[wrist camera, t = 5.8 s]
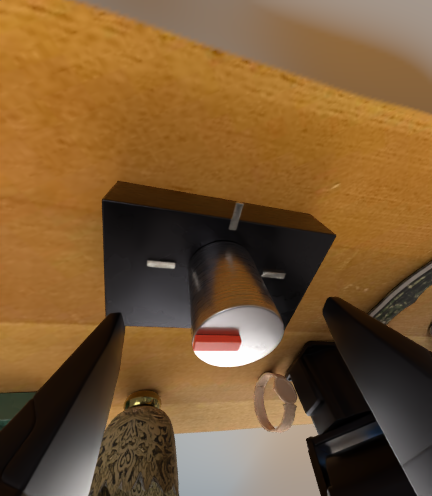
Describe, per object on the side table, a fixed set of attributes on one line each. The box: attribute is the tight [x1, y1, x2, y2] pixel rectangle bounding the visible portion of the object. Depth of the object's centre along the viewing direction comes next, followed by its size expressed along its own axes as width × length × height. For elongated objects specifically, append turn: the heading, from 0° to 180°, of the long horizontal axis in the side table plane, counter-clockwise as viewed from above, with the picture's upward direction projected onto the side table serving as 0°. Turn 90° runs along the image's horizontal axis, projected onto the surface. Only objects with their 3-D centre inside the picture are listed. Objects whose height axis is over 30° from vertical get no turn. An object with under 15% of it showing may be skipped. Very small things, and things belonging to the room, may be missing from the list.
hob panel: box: [102, 181, 336, 330], centre depth 14 cm, size 12×9×3 cm
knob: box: [188, 241, 284, 367], centre depth 10 cm, size 4×4×5 cm
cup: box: [88, 390, 179, 496], centre depth 20 cm, size 8×7×8 cm
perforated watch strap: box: [254, 373, 297, 433], centre depth 23 cm, size 3×5×5 cm, turn 153°
